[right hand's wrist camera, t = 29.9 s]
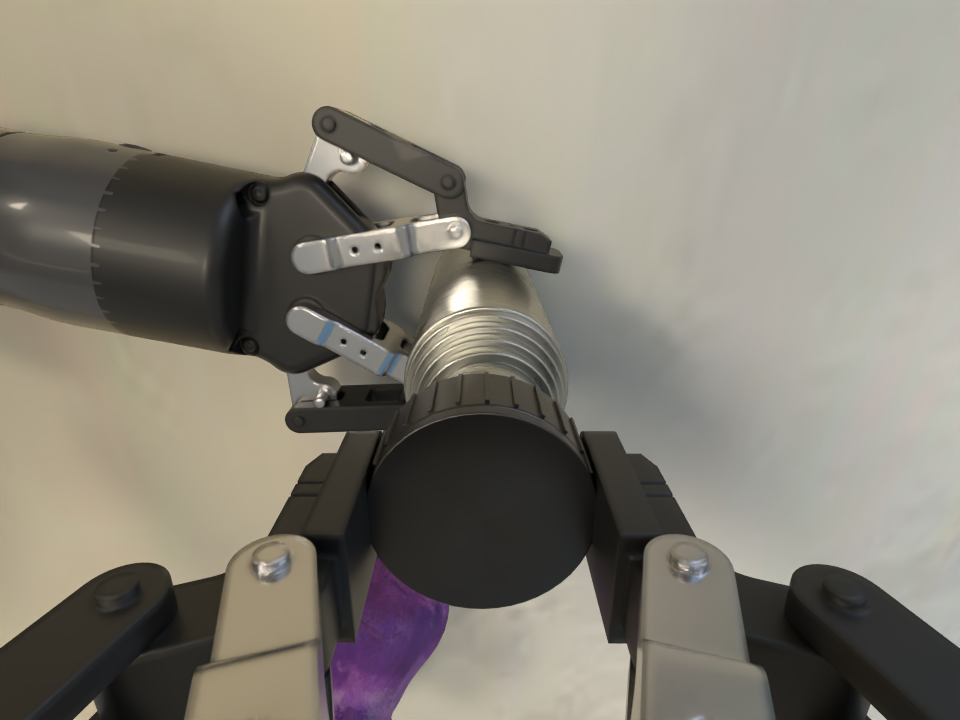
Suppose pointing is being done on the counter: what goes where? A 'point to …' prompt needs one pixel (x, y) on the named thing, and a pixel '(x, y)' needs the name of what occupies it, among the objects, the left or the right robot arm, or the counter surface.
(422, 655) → the figurine
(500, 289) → the bottle
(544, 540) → the cap
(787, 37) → the counter surface
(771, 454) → the counter surface
